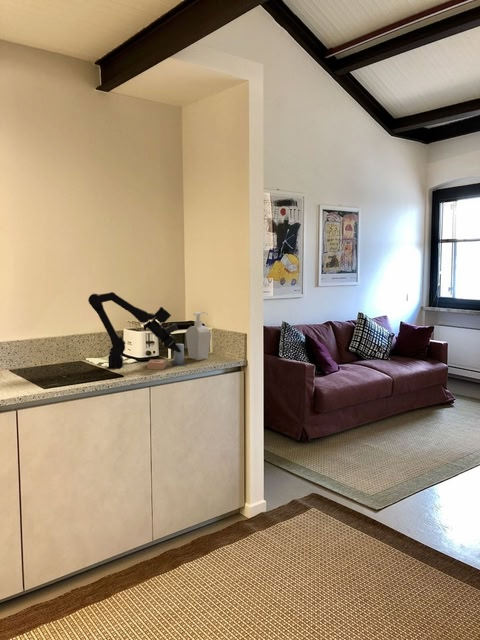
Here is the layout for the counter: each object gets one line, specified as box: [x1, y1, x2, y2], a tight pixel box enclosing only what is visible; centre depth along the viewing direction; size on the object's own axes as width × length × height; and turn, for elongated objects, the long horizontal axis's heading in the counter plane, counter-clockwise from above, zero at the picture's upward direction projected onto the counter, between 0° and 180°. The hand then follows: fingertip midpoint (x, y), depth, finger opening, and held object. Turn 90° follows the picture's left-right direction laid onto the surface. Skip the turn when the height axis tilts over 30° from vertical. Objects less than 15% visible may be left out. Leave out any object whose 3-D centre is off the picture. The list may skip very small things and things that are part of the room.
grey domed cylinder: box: [173, 343, 185, 365], centre depth 271 cm, size 5×5×10 cm
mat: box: [168, 361, 189, 367], centre depth 272 cm, size 9×9×1 cm
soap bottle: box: [185, 311, 212, 361], centre depth 288 cm, size 12×10×26 cm
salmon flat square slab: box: [147, 359, 167, 370], centre depth 264 cm, size 8×8×4 cm
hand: (179, 350), depth 271 cm, fingers open, 9 cm apart
